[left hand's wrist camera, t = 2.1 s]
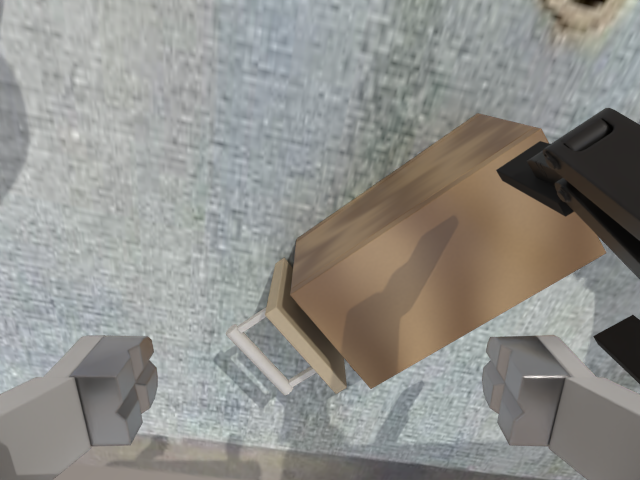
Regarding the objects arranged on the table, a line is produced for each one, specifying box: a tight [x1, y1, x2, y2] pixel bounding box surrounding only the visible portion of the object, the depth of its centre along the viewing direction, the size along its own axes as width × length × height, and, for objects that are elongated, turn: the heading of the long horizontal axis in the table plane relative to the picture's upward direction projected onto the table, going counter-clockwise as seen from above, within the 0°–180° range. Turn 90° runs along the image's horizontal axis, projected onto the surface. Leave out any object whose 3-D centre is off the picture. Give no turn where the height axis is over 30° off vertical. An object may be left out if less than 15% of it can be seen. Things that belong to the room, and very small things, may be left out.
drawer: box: [226, 258, 355, 395], centre depth 39 cm, size 25×10×10 cm, turn 126°
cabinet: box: [290, 114, 606, 389], centre depth 37 cm, size 21×11×12 cm, turn 126°
